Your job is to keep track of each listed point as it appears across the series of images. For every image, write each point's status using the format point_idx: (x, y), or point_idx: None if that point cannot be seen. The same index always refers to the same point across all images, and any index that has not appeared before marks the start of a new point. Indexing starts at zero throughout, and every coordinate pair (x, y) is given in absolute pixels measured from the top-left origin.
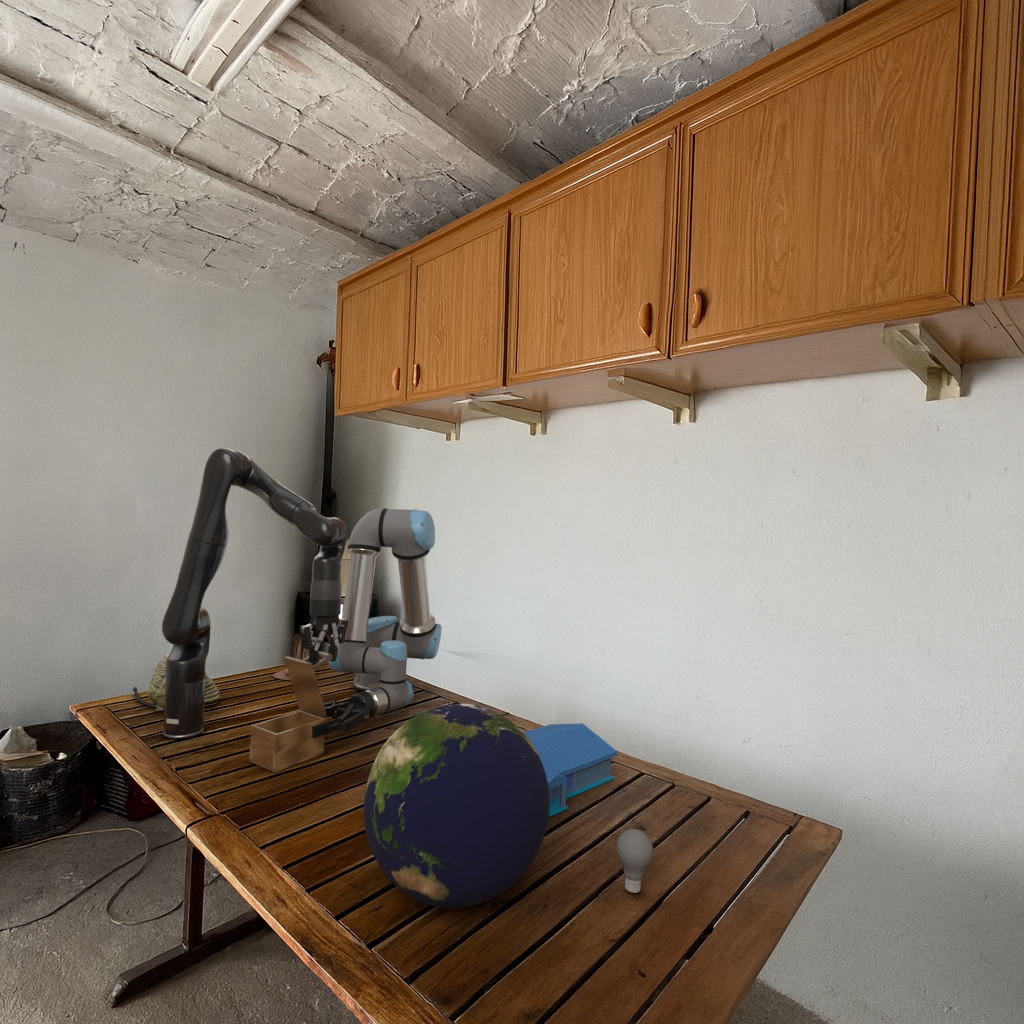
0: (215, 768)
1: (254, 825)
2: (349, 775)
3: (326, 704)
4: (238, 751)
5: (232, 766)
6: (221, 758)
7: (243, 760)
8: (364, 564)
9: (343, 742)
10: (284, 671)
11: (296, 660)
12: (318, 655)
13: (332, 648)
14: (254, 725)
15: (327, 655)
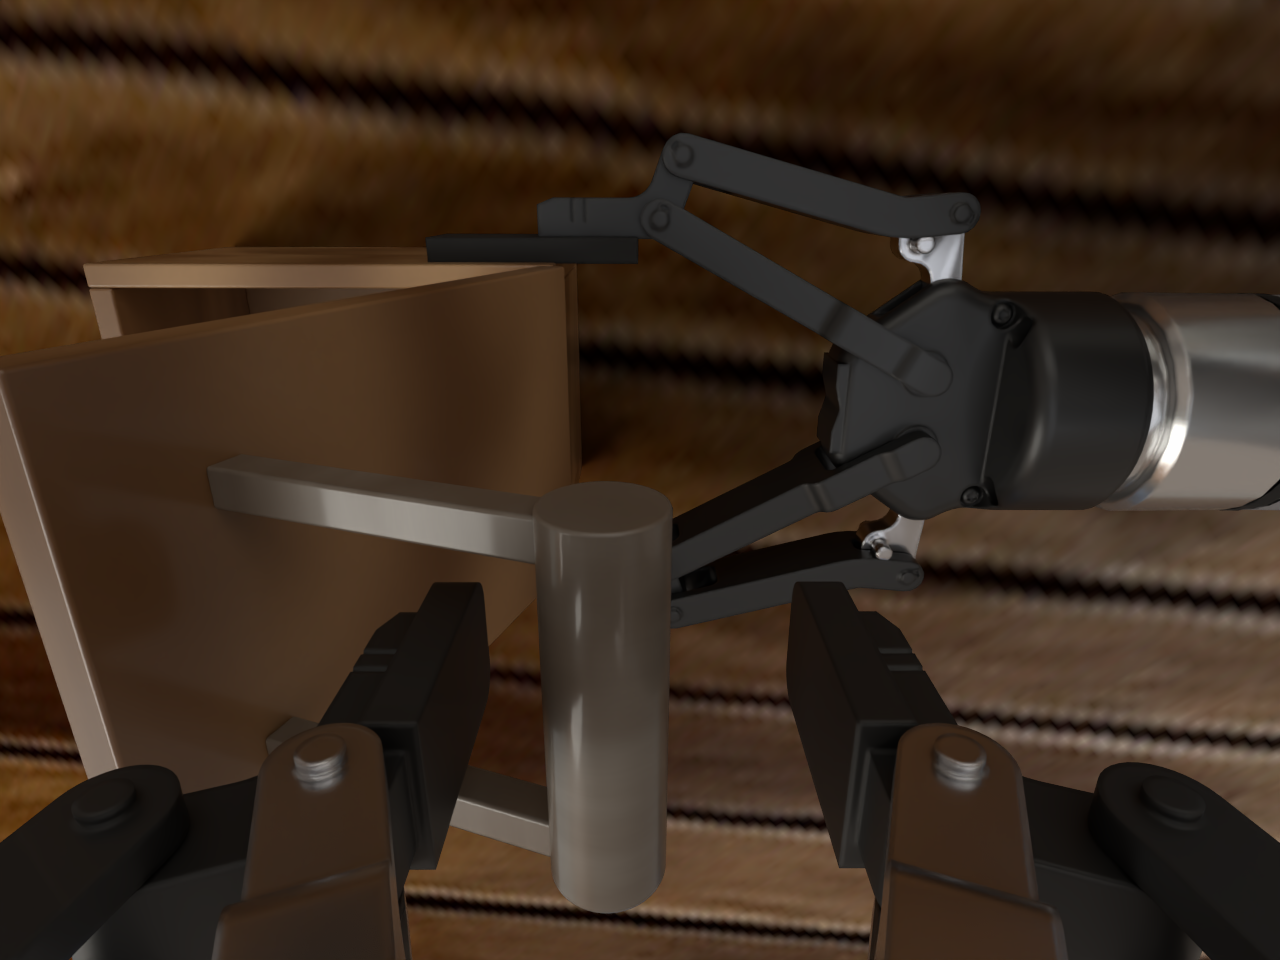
0: (44, 177)
1: (17, 758)
2: (504, 718)
3: (855, 227)
4: (244, 43)
5: (131, 229)
6: (118, 63)
7: (212, 202)
8: None
9: (756, 427)
10: None
11: (64, 685)
12: (455, 802)
13: (839, 802)
14: (105, 287)
15: (563, 891)
